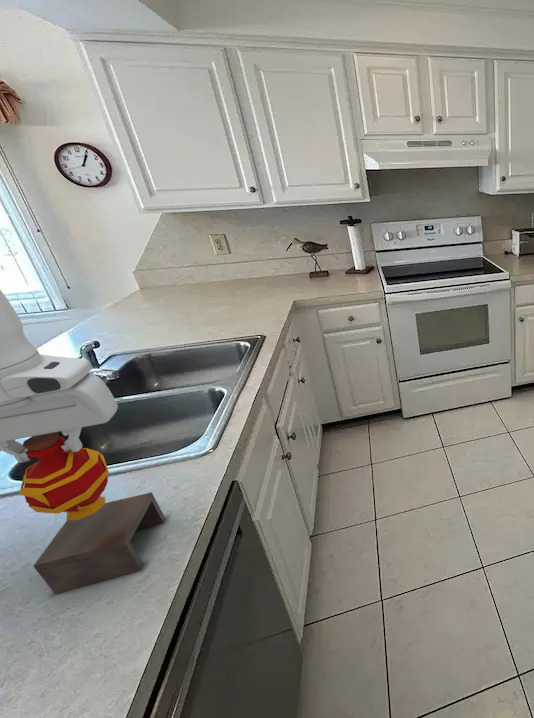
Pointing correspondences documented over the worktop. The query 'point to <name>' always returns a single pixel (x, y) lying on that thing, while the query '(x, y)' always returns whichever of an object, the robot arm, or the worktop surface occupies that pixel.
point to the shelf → (98, 544)
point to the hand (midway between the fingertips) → (52, 454)
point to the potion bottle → (63, 478)
